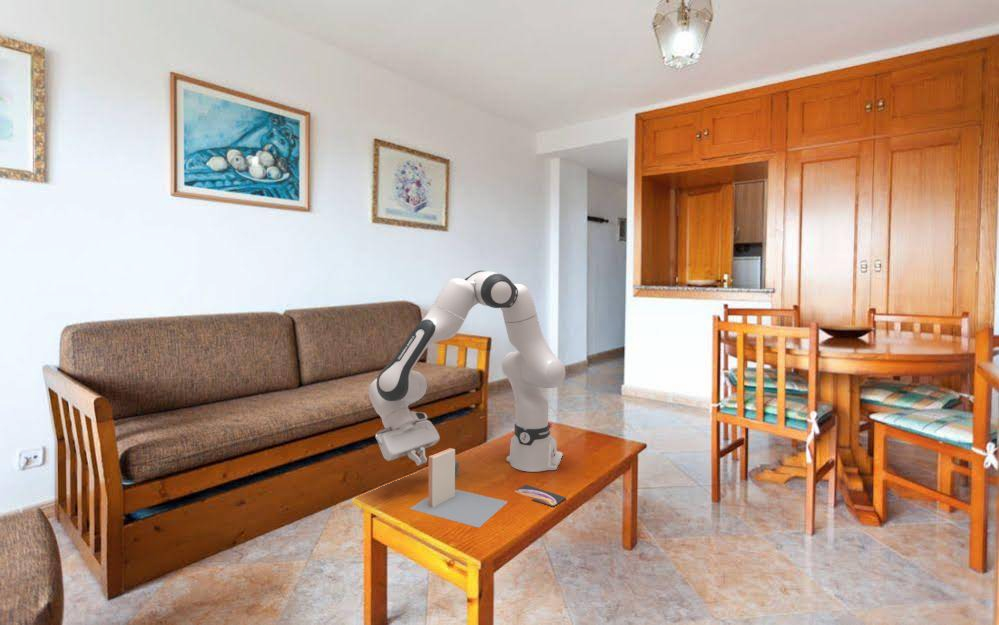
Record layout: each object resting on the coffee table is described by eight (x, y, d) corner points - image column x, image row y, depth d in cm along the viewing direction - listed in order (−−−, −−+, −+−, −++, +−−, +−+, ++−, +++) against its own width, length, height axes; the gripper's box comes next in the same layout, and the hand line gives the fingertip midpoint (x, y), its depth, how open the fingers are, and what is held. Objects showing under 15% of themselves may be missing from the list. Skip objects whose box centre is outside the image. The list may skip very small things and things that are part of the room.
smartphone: (553, 506, 139) (511, 492, 149) (553, 509, 139) (511, 495, 149) (567, 497, 145) (525, 483, 154) (567, 500, 145) (525, 486, 155)
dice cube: (436, 478, 159) (436, 463, 159) (446, 473, 163) (446, 458, 163) (449, 482, 156) (449, 466, 156) (458, 476, 161) (458, 461, 160)
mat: (443, 487, 152) (443, 486, 152) (508, 503, 142) (508, 501, 142) (409, 510, 137) (409, 508, 137) (478, 529, 127) (479, 527, 127)
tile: (428, 505, 139) (428, 456, 138) (450, 494, 146) (450, 448, 145) (433, 507, 138) (433, 457, 137) (454, 496, 145) (455, 449, 144)
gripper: (378, 426, 142) (401, 467, 136) (429, 412, 158) (451, 448, 153) (368, 438, 145) (390, 479, 139) (419, 423, 161) (441, 459, 156)
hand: (422, 463), depth 146 cm, fingers closed
